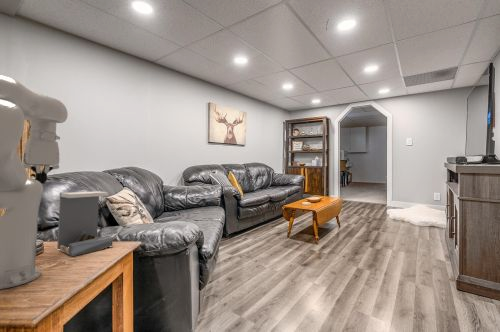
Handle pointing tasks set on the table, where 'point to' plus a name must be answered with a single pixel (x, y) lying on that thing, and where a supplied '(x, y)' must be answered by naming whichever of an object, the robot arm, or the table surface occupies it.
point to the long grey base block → (87, 246)
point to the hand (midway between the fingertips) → (40, 183)
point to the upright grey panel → (78, 216)
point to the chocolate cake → (85, 237)
